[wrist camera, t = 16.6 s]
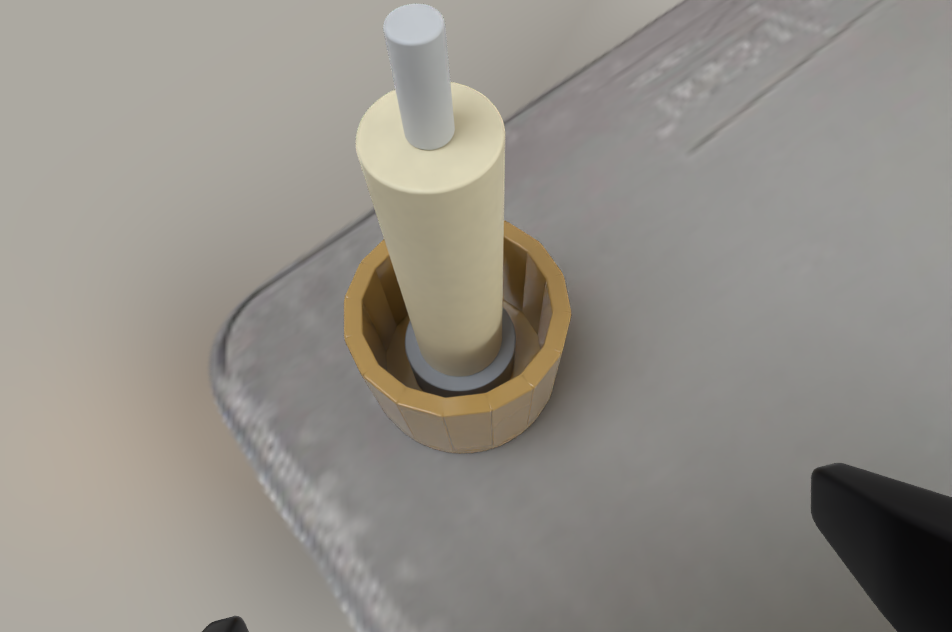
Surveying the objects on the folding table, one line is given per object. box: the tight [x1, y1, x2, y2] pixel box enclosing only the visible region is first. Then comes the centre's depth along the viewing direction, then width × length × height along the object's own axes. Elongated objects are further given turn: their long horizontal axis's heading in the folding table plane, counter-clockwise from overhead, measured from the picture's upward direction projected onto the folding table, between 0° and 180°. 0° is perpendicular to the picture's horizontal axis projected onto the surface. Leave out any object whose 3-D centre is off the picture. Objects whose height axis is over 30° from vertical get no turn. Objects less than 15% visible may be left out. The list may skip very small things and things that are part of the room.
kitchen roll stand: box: [356, 4, 516, 398], centre depth 15 cm, size 4×4×14 cm
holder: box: [344, 221, 571, 453], centre depth 20 cm, size 7×7×5 cm
